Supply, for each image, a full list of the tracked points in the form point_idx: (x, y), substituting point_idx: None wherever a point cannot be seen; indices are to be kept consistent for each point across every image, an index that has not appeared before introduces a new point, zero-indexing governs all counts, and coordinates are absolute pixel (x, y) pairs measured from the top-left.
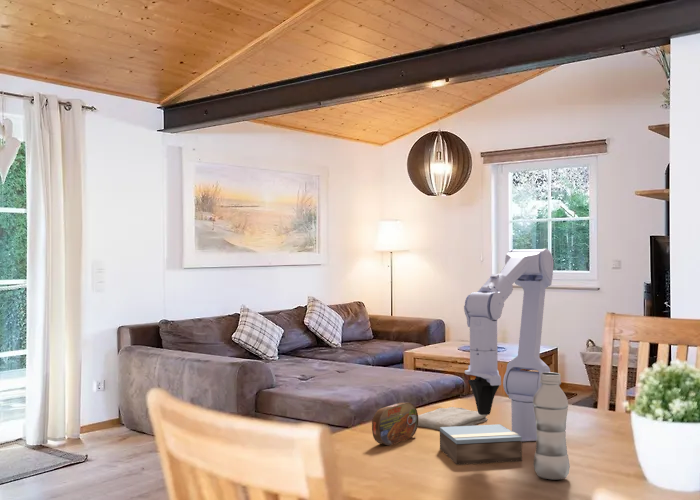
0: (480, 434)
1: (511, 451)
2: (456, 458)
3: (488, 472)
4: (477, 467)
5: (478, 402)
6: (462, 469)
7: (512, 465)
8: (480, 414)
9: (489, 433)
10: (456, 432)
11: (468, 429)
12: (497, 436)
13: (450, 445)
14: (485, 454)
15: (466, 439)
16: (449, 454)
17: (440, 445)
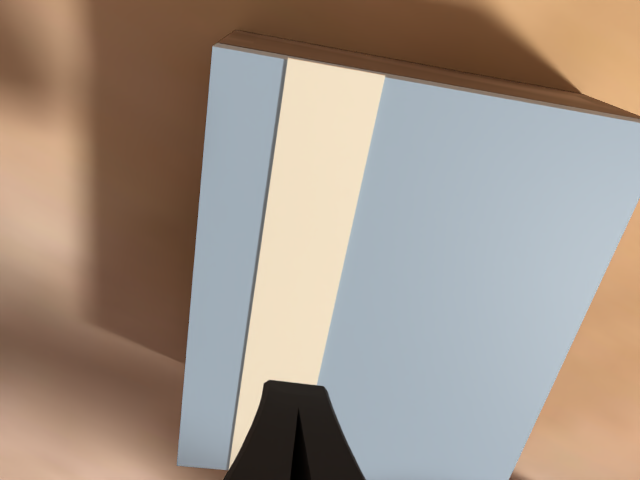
0: (307, 291)
1: None
2: (235, 33)
3: (46, 135)
4: (152, 124)
5: (247, 461)
6: (133, 15)
7: (144, 304)
8: (270, 382)
9: (310, 352)
10: (449, 170)
11: (486, 288)
12: (230, 363)
13: (373, 65)
14: None
15: (211, 136)
16: (387, 59)
17: (583, 96)
